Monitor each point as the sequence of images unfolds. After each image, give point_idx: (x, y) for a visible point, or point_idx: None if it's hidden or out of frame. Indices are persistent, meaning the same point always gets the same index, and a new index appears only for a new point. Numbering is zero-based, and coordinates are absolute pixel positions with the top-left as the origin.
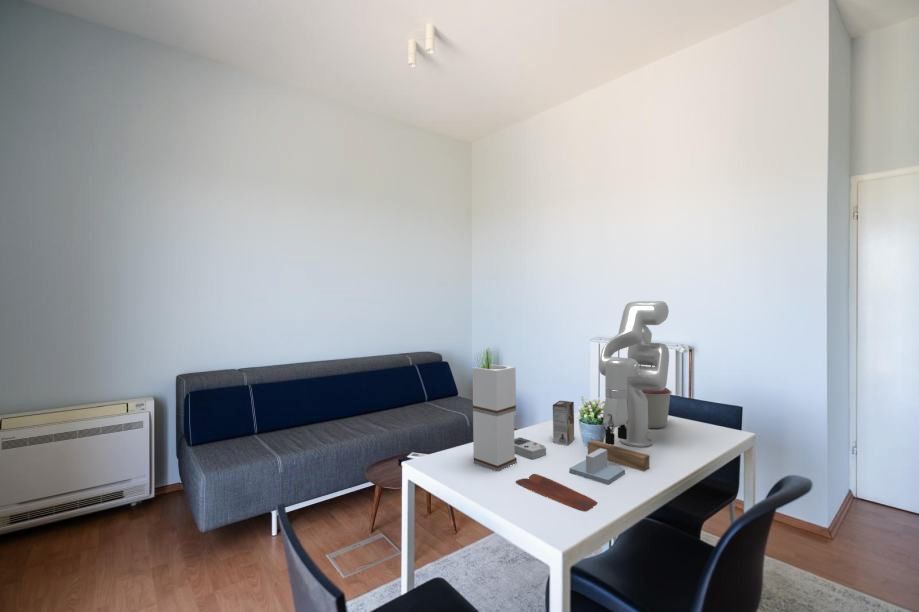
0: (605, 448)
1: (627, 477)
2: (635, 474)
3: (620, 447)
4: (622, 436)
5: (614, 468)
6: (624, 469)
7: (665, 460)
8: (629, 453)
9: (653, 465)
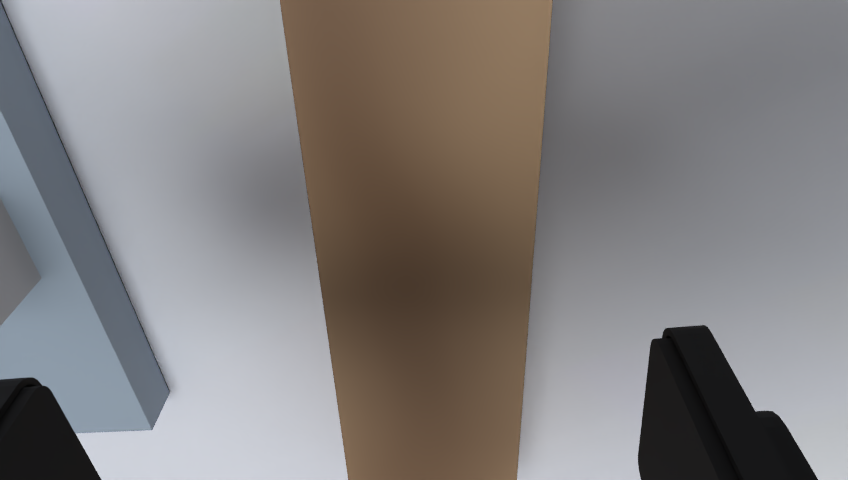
0: (302, 116)
1: (122, 434)
2: (250, 446)
3: (521, 306)
4: (658, 461)
5: (60, 363)
6: (143, 429)
7: (843, 474)
8: (367, 478)
9: (609, 458)
